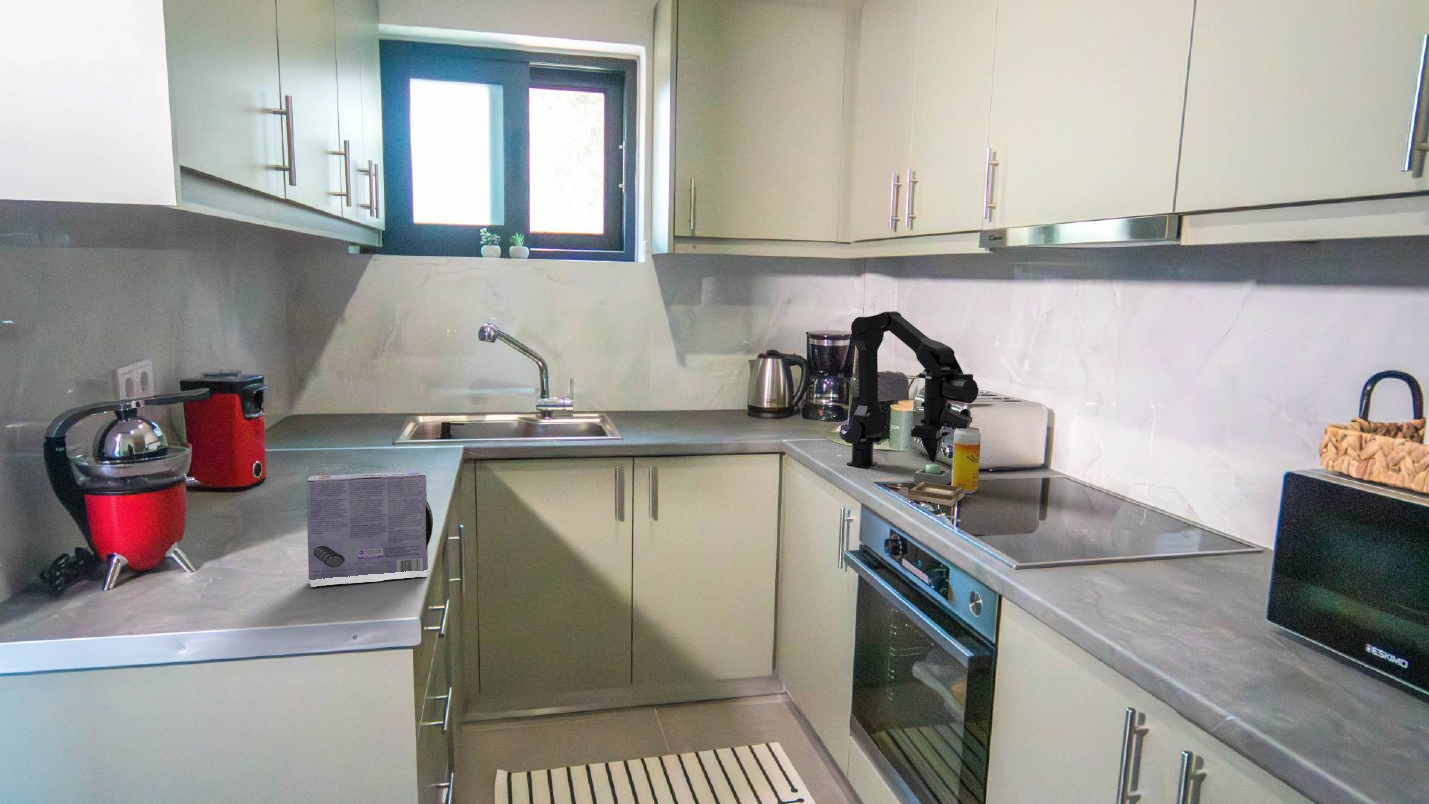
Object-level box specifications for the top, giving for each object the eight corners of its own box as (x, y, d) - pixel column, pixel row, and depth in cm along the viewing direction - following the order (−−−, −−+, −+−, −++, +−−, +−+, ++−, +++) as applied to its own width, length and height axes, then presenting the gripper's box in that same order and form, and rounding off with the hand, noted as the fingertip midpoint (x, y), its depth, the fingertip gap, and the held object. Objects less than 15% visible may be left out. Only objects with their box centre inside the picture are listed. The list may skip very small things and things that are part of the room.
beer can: (978, 494, 202) (982, 431, 200) (951, 493, 203) (955, 430, 201) (976, 488, 208) (979, 426, 205) (950, 486, 209) (953, 425, 207)
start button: (927, 473, 214) (928, 463, 214) (942, 474, 212) (942, 465, 212) (923, 475, 211) (923, 466, 211) (937, 477, 209) (938, 468, 209)
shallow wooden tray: (922, 490, 205) (922, 481, 205) (964, 496, 200) (964, 487, 200) (908, 499, 197) (908, 490, 196) (951, 505, 191) (952, 496, 191)
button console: (922, 479, 217) (923, 467, 216) (950, 482, 213) (951, 470, 212) (913, 484, 211) (914, 472, 210) (942, 488, 207) (942, 476, 207)
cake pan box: (434, 568, 148) (430, 467, 146) (435, 577, 144) (431, 474, 141) (312, 579, 142) (305, 474, 140) (308, 590, 137) (301, 481, 135)
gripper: (958, 405, 197) (955, 472, 199) (980, 396, 212) (976, 458, 215) (911, 401, 202) (908, 466, 205) (935, 392, 218) (932, 453, 220)
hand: (933, 461), depth 211 cm, fingers closed
